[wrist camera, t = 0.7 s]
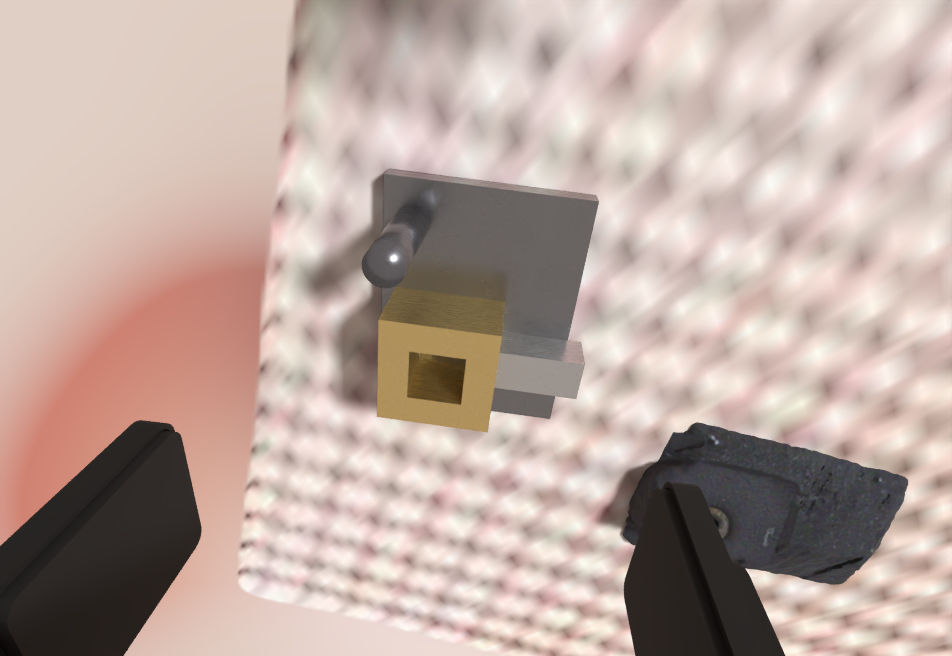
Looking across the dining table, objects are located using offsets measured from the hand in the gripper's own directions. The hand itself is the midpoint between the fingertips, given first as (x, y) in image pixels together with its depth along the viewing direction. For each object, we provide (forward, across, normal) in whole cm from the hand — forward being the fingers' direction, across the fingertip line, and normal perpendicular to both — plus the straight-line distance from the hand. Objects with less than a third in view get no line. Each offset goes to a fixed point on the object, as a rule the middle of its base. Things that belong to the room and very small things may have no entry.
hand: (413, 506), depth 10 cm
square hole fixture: (+28, 0, +8) cm, 30 cm away
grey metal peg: (+27, +5, +2) cm, 27 cm away
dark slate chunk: (+30, -27, +26) cm, 47 cm away
